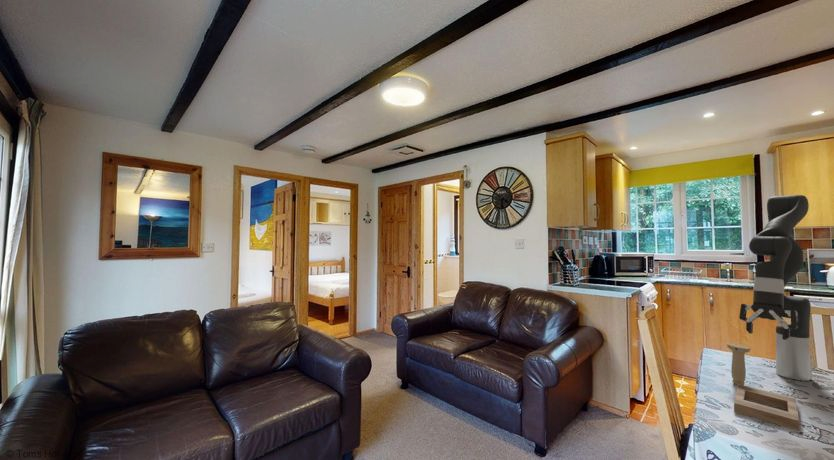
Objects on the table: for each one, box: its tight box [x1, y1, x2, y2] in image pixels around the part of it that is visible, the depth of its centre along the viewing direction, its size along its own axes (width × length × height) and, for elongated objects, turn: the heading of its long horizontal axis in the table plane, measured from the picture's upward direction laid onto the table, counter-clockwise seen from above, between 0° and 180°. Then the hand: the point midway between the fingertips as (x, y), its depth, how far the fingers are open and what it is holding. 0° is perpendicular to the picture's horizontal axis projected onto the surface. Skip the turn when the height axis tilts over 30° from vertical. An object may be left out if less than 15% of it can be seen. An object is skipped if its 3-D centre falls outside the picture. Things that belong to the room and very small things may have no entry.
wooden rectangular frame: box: [733, 384, 800, 431], centre depth 109 cm, size 20×14×3 cm
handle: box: [726, 342, 751, 386], centre depth 128 cm, size 5×6×15 cm
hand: (766, 336), depth 117 cm, fingers open, 8 cm apart
